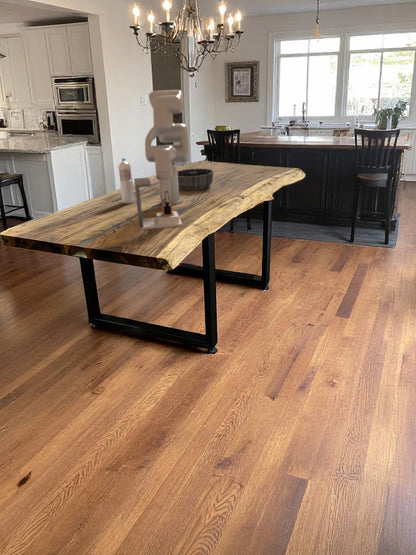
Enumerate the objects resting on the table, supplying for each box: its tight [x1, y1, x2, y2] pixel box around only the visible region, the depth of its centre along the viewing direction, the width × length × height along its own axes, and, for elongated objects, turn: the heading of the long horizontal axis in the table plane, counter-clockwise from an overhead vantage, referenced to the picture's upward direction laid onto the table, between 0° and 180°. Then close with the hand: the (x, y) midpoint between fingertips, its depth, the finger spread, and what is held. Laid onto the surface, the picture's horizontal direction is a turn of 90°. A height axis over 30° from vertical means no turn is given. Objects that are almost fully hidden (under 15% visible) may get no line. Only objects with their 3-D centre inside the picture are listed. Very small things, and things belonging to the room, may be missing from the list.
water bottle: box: [118, 158, 135, 205], centre depth 263 cm, size 7×7×25 cm
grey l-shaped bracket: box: [133, 177, 152, 229], centre depth 221 cm, size 15×7×20 cm, turn 10°
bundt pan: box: [177, 168, 215, 191], centre depth 295 cm, size 26×26×10 cm
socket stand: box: [138, 210, 183, 231], centre depth 226 cm, size 15×20×4 cm
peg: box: [160, 198, 173, 217], centre depth 225 cm, size 4×4×9 cm
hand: (167, 212), depth 225 cm, fingers open, 4 cm apart
